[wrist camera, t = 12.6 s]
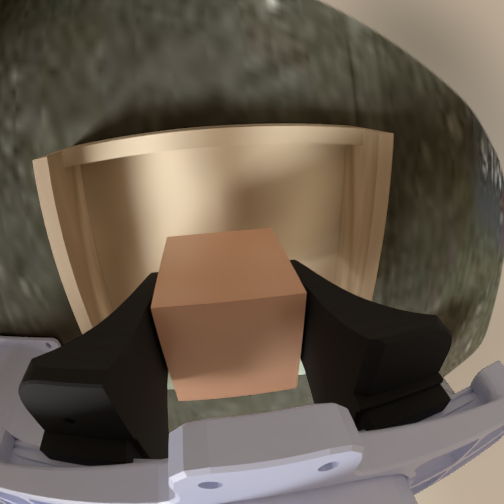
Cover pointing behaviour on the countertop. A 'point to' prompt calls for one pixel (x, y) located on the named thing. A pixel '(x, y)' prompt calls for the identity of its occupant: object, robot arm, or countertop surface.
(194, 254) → the terracotta block
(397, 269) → the countertop surface
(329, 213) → the tray
